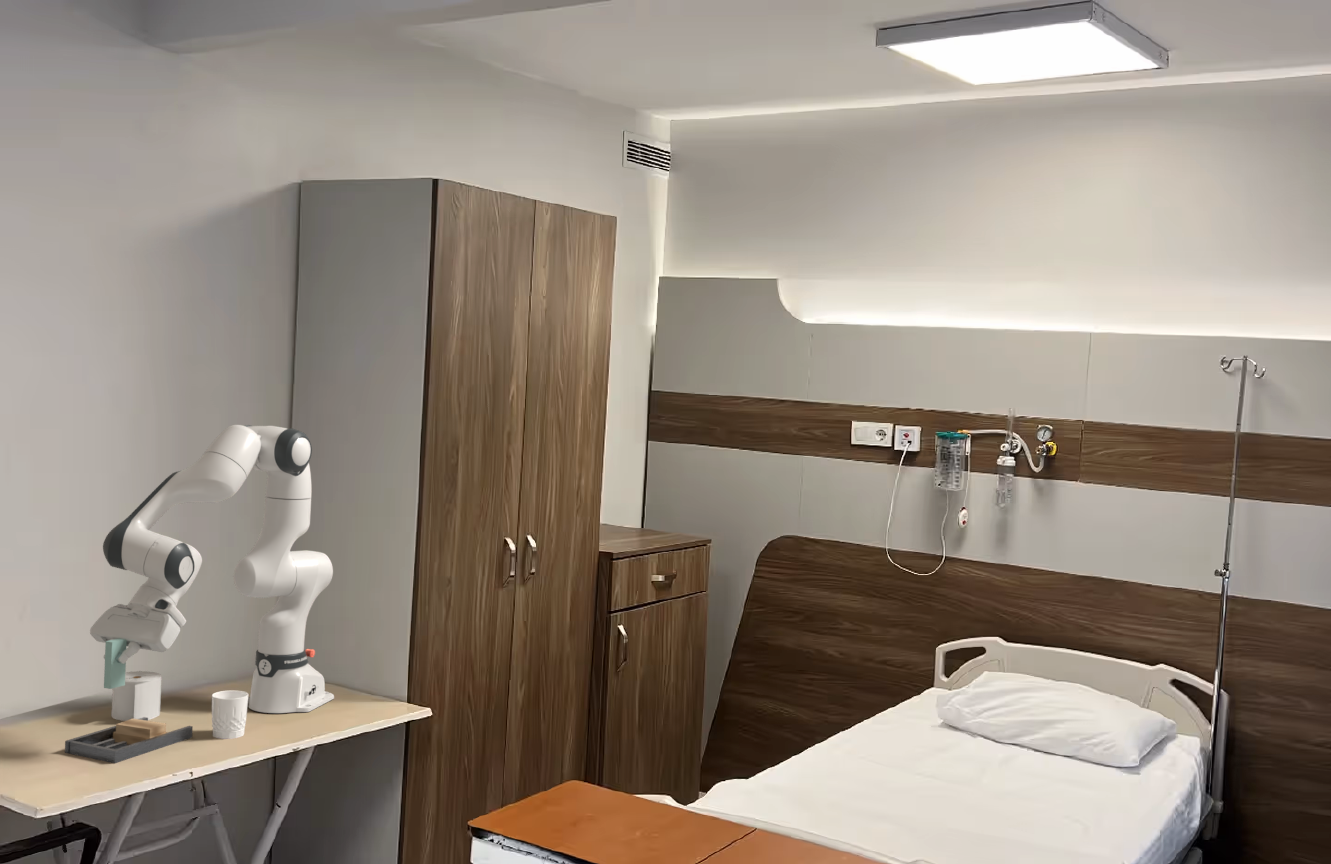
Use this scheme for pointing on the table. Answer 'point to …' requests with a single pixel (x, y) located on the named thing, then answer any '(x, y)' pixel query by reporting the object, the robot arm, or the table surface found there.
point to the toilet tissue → (137, 696)
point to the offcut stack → (138, 730)
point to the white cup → (229, 713)
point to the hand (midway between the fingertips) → (113, 660)
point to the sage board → (114, 664)
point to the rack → (121, 744)
